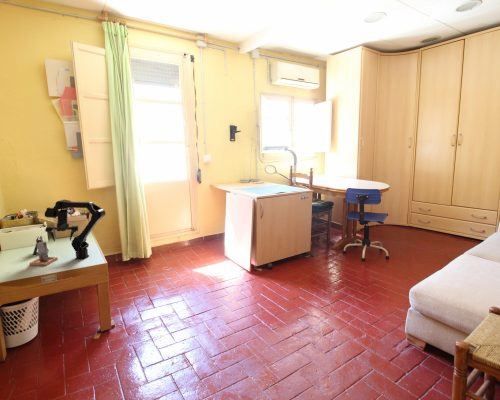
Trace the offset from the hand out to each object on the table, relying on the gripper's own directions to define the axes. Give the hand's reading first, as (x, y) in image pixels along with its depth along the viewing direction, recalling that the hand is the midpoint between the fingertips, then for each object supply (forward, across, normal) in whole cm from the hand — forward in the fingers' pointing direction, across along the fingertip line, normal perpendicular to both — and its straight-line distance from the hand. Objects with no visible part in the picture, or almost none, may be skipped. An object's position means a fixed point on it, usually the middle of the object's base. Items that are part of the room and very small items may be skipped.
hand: (62, 240), depth 201 cm
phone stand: (+13, -15, +18) cm, 27 cm away
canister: (+13, -10, -3) cm, 16 cm away
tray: (+14, -10, -3) cm, 17 cm away
